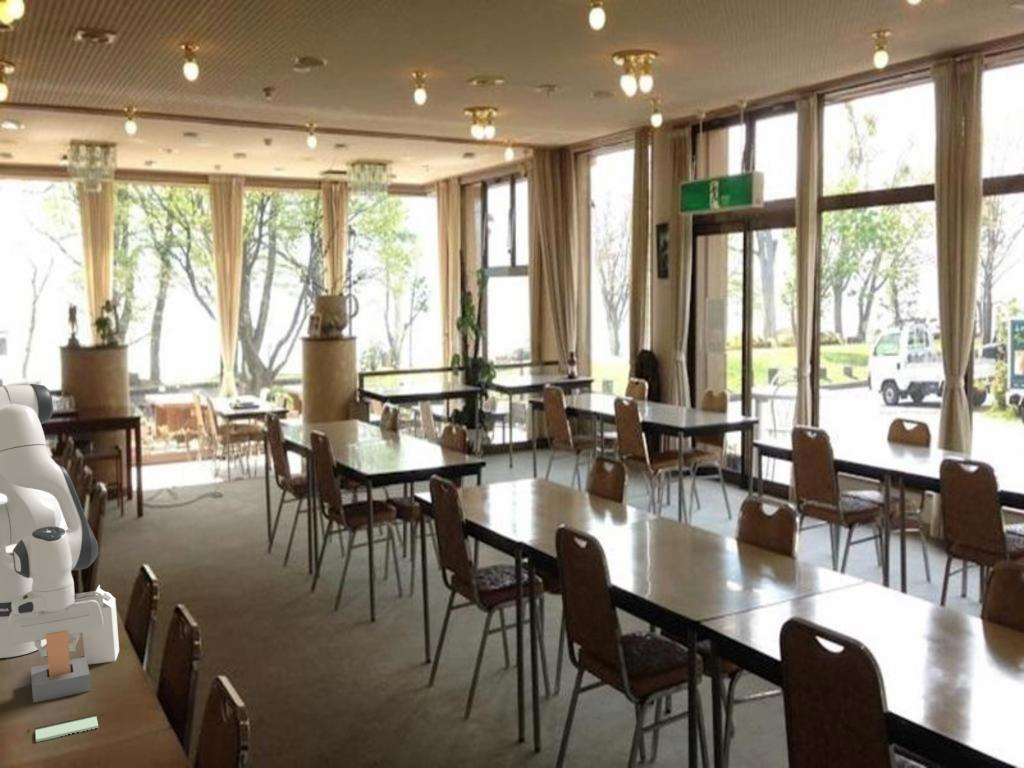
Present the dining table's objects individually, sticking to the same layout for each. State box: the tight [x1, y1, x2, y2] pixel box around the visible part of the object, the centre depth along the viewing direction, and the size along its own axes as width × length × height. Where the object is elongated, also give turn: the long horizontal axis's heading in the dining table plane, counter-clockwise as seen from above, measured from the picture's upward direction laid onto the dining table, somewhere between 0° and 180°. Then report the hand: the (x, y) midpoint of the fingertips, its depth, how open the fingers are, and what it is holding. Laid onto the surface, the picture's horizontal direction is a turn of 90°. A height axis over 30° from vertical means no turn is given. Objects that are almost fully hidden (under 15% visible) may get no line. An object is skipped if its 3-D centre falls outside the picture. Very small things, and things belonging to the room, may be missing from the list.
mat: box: [34, 714, 99, 743], centre depth 203 cm, size 16×12×1 cm
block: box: [46, 631, 71, 677], centre depth 217 cm, size 4×4×12 cm
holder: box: [30, 656, 92, 704], centre depth 218 cm, size 12×12×5 cm
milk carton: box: [82, 584, 120, 665], centre depth 234 cm, size 7×7×19 cm
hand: (58, 654), depth 217 cm, fingers closed on block, 4 cm apart
